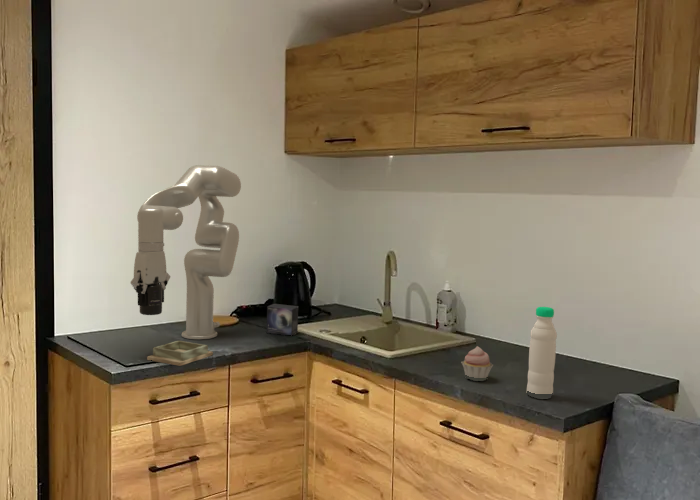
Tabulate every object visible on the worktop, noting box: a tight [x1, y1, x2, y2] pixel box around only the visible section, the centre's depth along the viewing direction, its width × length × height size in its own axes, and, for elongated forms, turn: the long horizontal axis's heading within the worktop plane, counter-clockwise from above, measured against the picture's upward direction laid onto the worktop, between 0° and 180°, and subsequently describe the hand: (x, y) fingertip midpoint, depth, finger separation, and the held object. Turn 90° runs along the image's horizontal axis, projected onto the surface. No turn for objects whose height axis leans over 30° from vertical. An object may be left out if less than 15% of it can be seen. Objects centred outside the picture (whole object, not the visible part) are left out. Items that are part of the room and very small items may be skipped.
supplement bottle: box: [139, 277, 163, 316], centre depth 213 cm, size 7×7×12 cm
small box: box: [266, 303, 299, 337], centre depth 255 cm, size 11×6×10 cm, turn 72°
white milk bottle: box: [526, 306, 558, 394], centre depth 188 cm, size 7×7×25 cm
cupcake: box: [460, 345, 494, 378], centre depth 204 cm, size 9×9×10 cm
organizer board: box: [146, 340, 214, 367], centre depth 216 cm, size 16×13×4 cm
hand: (151, 303), depth 214 cm, fingers closed on supplement bottle, 6 cm apart
